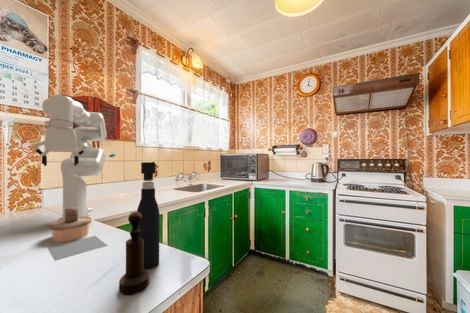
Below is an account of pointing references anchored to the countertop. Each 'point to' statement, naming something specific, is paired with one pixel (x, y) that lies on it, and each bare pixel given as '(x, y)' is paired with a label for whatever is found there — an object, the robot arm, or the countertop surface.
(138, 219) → the dark brown knobbed cylinder
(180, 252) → the countertop surface
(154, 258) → the wine bottle
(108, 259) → the countertop surface
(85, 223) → the lid
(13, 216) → the countertop surface
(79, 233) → the bowl
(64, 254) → the mat
